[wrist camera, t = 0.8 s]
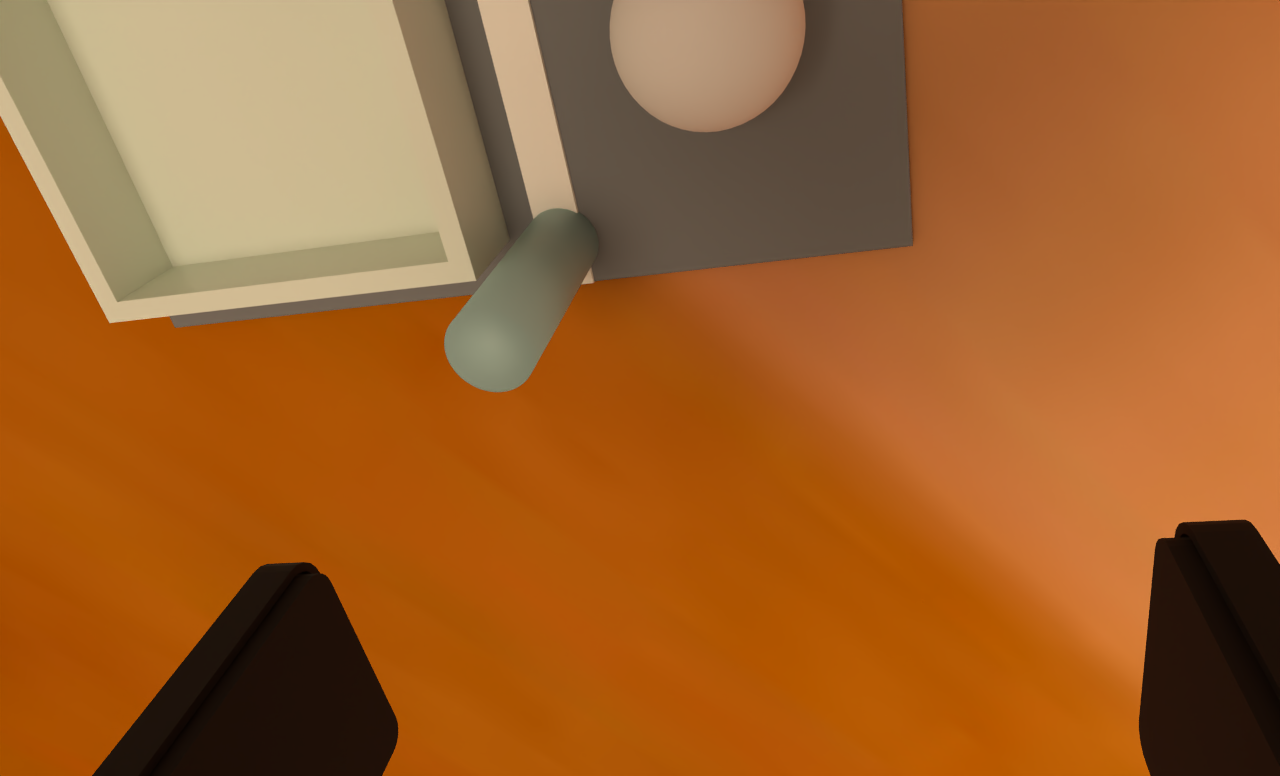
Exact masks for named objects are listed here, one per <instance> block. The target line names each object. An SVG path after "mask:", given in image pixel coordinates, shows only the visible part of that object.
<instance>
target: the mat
mask: <svg viewBox="0 0 1280 776" xmlns="http://www.w3.org/2000/svg"><path fill="white" fill-rule="evenodd" d="M444 1H445V4H446V8H447V12H448V15H449V19H450V23H451V26H452V30H453V34H454V37H455V41H456V45H457V48H458V52H459V56H460V59H461V63H462V67H463V70H464V74H465V78H466V81H467V85H468V88H469V92H470V96H471V99H472V103H473V107H474V110H475V114H476V118H477V121H478V125H479V129H480V132H481V136H482V140H483V143H484V147H485V151H486V154H487V158H488V162H489V165H490V169H491V172H492V176H493V180H494V183H495V187H496V191H497V194H498V198H499V202H500V205H501V209H502V213H503V216H504V220H505V224H506V227H507V231H508V235H509V238H510V240H509V241H508V242H507V244H506V245H505V246H504V247H503V249H502V250H501V251H500V252H499V254H498V255H497V256H496V257H495V258H494V260H493V261H492V262H491V263H490V265H489V266H488V267H487V268H486V269H485V271H484V272H483V273H482V274H481V276H480V277H479V278H478V279H477V281H470V282H461V283H452V284H444V285H435V286H426V287H417V288H409V289H400V290H391V291H383V292H374V293H365V294H357V295H348V296H339V297H330V298H322V299H313V300H304V301H296V302H287V303H278V304H269V305H261V306H252V307H243V308H235V309H226V310H217V311H209V312H200V313H191V314H182V315H174V316H170V318H171V320H172V322H173V324H174V327H175V328H176V327H185V326H194V325H203V324H212V323H221V322H230V321H239V320H248V319H257V318H266V317H275V316H284V315H293V314H302V313H311V312H320V311H329V310H338V309H347V308H356V307H365V306H374V305H383V304H392V303H401V302H410V301H419V300H428V299H437V298H446V297H455V296H464V295H473V294H474V293H475V292H476V291H477V290H478V288H479V287H480V286H481V285H482V283H483V282H484V281H485V280H486V278H487V277H488V276H489V275H490V273H491V272H492V271H493V269H494V268H495V267H496V266H497V264H498V263H499V262H500V261H501V259H502V258H503V257H504V256H505V254H506V253H507V252H508V251H509V249H510V248H511V247H512V246H513V244H514V243H515V242H516V241H517V239H518V238H519V237H520V236H521V234H522V233H523V232H524V230H525V229H526V228H527V227H528V225H529V224H530V223H531V222H532V220H533V219H534V218H535V217H536V216H537V215H539V214H540V213H542V212H543V211H546V210H549V209H554V208H562V209H568V210H571V211H573V212H575V213H578V212H580V213H581V214H583V215H584V216H585V217H586V218H587V219H588V220H589V221H590V222H591V223H592V225H593V227H594V228H595V230H596V233H597V236H598V241H599V248H598V254H597V256H596V259H595V261H594V262H593V264H592V266H591V268H590V270H589V271H588V273H587V275H586V277H585V278H584V280H583V282H582V284H589V283H594V281H600V280H609V279H618V278H627V277H636V276H645V275H654V274H663V273H672V272H681V271H690V270H699V269H708V268H717V267H726V266H735V265H744V264H753V263H762V262H771V261H780V260H789V259H798V258H807V257H816V256H825V255H834V254H843V253H852V252H861V251H870V250H879V249H888V248H897V247H906V246H913V238H912V215H911V193H910V170H909V148H908V125H907V102H906V80H905V57H904V34H903V12H902V0H803V3H804V10H805V26H806V28H805V39H804V45H803V49H802V54H801V57H800V60H799V63H798V65H797V68H796V70H795V72H794V74H793V76H792V78H791V80H790V82H789V83H788V85H787V86H786V88H785V89H784V91H783V92H782V94H781V95H780V96H779V97H778V98H777V99H776V101H775V102H774V103H773V104H772V105H770V106H769V107H768V108H767V109H766V110H765V111H764V112H762V113H761V114H759V115H758V116H756V117H755V118H753V119H751V120H749V121H748V122H746V123H744V124H742V125H739V126H736V127H733V128H730V129H726V130H722V131H716V132H693V131H688V130H682V129H679V128H676V127H673V126H670V125H668V124H666V123H664V122H662V121H660V120H658V119H657V118H655V117H654V116H652V115H651V114H649V113H648V112H647V111H646V110H645V109H644V108H642V107H641V106H640V105H639V104H638V103H637V101H636V100H635V99H634V98H633V97H632V96H631V94H630V93H629V91H628V90H627V89H626V87H625V85H624V84H623V82H622V80H621V78H620V76H619V74H618V71H617V69H616V66H615V63H614V59H613V55H612V51H611V44H610V16H611V9H612V4H613V0H444Z"/></svg>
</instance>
